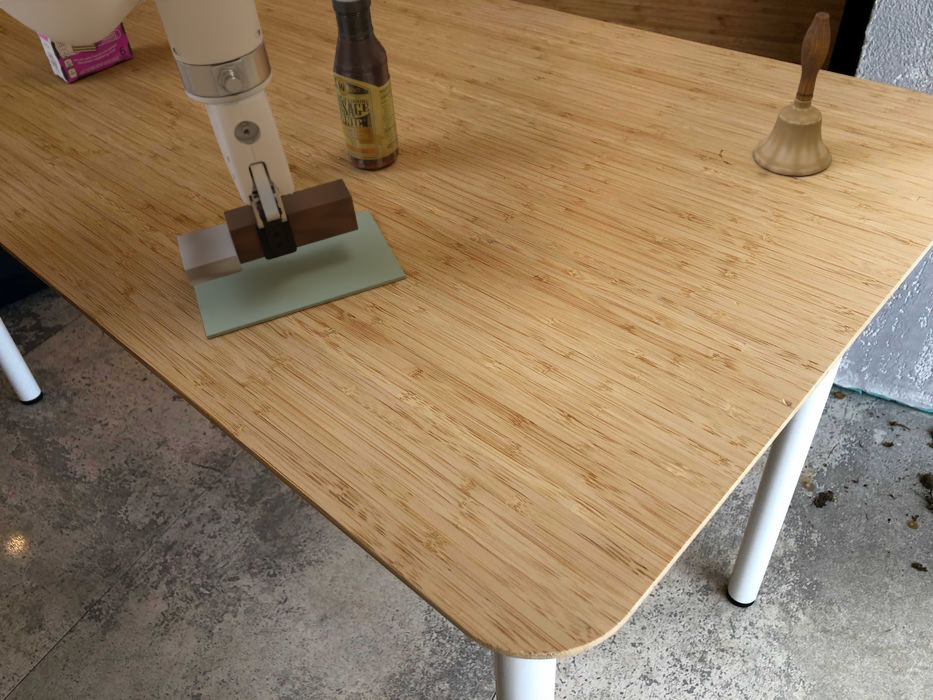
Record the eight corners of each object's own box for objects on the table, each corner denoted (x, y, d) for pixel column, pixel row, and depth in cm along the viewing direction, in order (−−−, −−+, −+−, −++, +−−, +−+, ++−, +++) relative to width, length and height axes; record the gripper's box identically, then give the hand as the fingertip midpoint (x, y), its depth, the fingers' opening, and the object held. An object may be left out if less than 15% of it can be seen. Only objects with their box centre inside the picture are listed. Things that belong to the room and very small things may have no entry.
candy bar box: (69, 85, 124) (19, -30, 113) (54, 76, 127) (4, -38, 116) (137, 57, 129) (96, -56, 118) (122, 49, 132) (80, -62, 121)
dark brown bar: (346, 205, 88) (338, 172, 85) (362, 236, 84) (355, 202, 81) (182, 252, 84) (169, 219, 82) (191, 286, 80) (177, 252, 78)
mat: (207, 339, 81) (206, 336, 80) (188, 264, 90) (187, 261, 89) (406, 278, 85) (405, 275, 85) (368, 212, 94) (368, 209, 94)
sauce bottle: (338, 162, 102) (303, -5, 89) (376, 140, 105) (348, -24, 92) (374, 179, 99) (344, 8, 85) (413, 156, 102) (389, -12, 88)
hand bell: (764, 132, 99) (789, -6, 88) (839, 146, 96) (874, 4, 85) (743, 167, 94) (766, 25, 83) (820, 183, 91) (855, 37, 80)
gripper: (289, 96, 67) (334, 278, 79) (249, 22, 78) (294, 191, 91) (194, 120, 65) (255, 302, 78) (168, 41, 77) (225, 210, 89)
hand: (276, 241), depth 84 cm, fingers closed on dark brown bar, 3 cm apart
